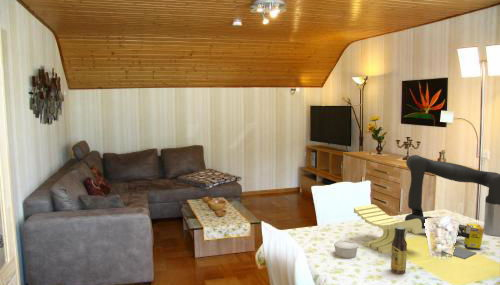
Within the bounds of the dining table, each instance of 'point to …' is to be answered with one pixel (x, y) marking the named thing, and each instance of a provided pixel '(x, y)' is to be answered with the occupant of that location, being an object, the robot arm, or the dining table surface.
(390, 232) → the slatted curved stool
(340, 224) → the dining table surface
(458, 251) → the mat
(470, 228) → the supplement box
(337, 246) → the ramekin
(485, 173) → the robot arm
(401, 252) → the sauce bottle
